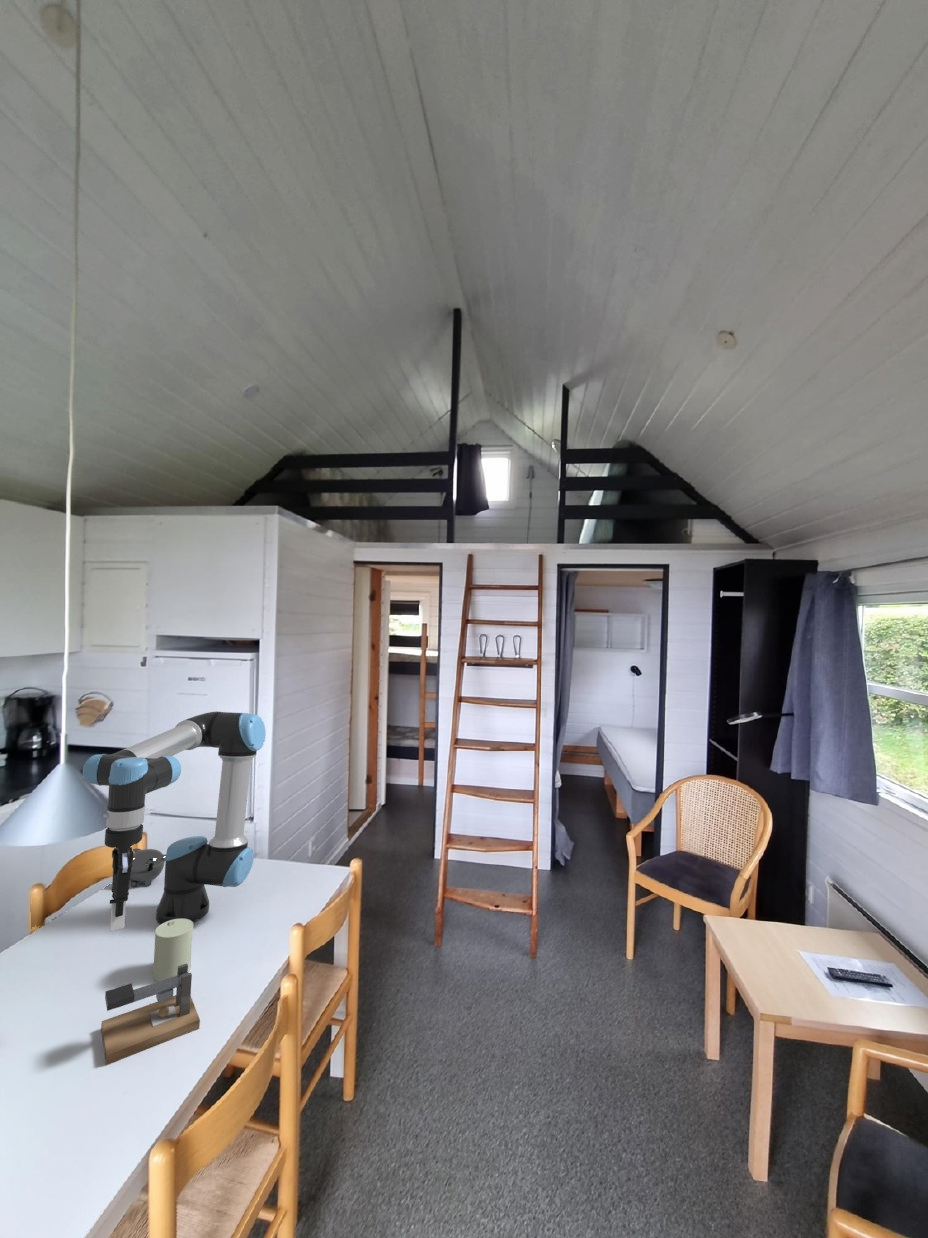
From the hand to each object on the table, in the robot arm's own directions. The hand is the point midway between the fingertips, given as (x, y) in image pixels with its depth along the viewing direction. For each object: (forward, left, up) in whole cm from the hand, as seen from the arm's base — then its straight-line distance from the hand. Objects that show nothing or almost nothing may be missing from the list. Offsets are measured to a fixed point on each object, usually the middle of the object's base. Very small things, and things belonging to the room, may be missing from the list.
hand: (117, 928), depth 124 cm
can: (-13, +15, -22) cm, 29 cm away
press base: (+8, +7, -22) cm, 24 cm away
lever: (+8, +6, -16) cm, 18 cm away
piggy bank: (-72, +15, -22) cm, 77 cm away
